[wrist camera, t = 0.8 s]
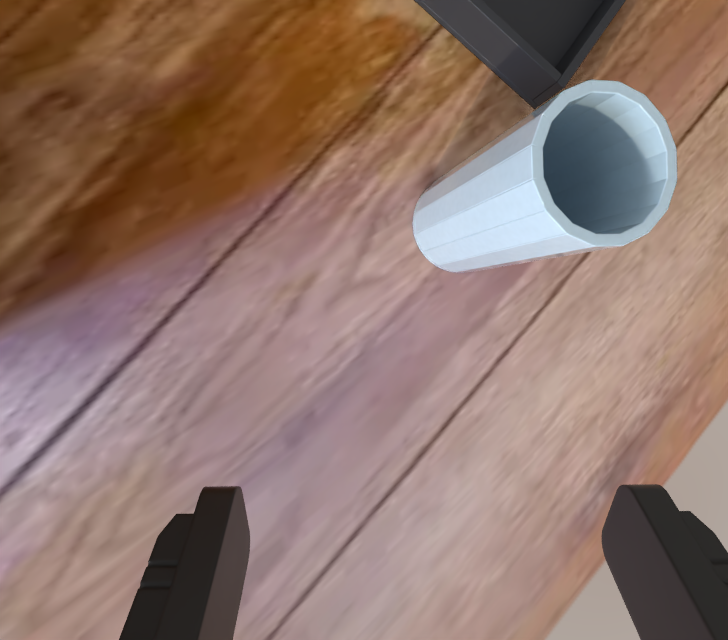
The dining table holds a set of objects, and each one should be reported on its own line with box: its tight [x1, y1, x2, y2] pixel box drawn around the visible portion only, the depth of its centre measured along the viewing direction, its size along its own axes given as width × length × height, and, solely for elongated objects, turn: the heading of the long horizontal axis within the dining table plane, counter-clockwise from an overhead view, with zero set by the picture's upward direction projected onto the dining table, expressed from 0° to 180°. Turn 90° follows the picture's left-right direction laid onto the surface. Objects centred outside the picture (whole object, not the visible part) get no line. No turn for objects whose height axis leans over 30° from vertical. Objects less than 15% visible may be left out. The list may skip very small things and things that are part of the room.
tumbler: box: [413, 80, 677, 273], centre depth 27 cm, size 6×6×15 cm
